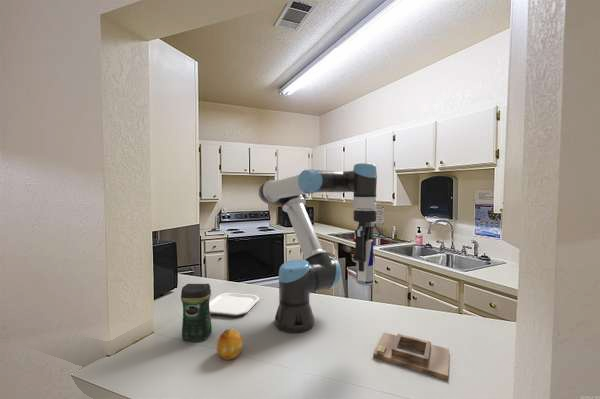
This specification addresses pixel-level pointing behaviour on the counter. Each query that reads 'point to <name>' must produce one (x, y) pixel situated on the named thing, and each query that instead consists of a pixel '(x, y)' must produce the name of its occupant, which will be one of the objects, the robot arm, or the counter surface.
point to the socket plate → (414, 354)
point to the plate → (232, 304)
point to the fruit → (229, 344)
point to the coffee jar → (196, 312)
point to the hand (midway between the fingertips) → (364, 277)
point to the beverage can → (367, 265)
